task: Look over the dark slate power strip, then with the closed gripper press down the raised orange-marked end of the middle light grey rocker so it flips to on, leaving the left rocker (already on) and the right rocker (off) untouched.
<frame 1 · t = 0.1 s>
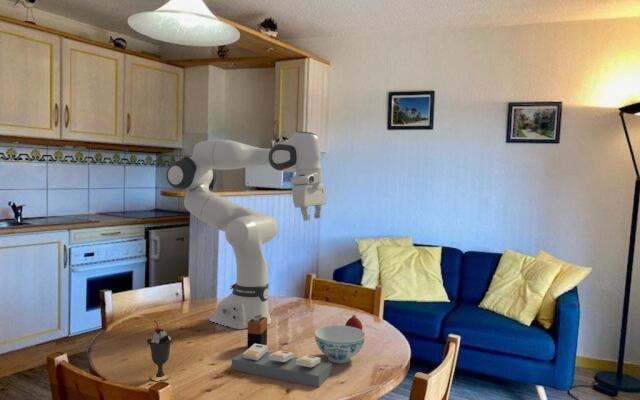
hand: (312, 219, 167), 39 cm above the table, tool pointing down, fingers open, 8 cm apart
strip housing: (281, 372, 134), on the table
rocker 2: (281, 356, 134), point 4 cm above the table, hinge at -8.0°
rocker 3: (308, 361, 131), point 4 cm above the table, hinge at -8.0°
rocker 1: (255, 352, 137), point 4 cm above the table, hinge at 8.0°
sundae: (160, 378, 129), on the table
chinaware: (339, 359, 145), on the table
red rounded piece: (353, 338, 163), on the table
battery: (257, 348, 152), on the table
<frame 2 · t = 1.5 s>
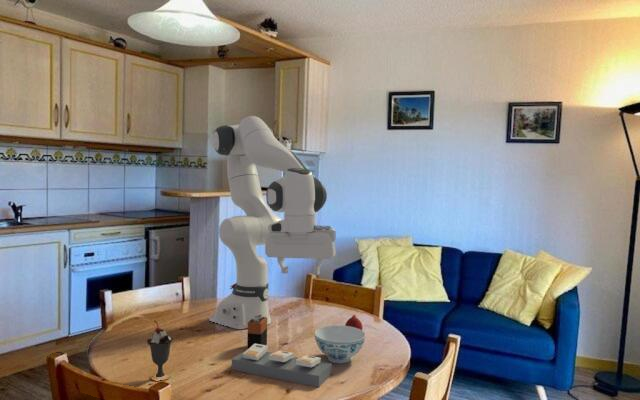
hand: (300, 273, 139), 26 cm above the table, tool pointing down, fingers open, 8 cm apart
nothing on the table moved.
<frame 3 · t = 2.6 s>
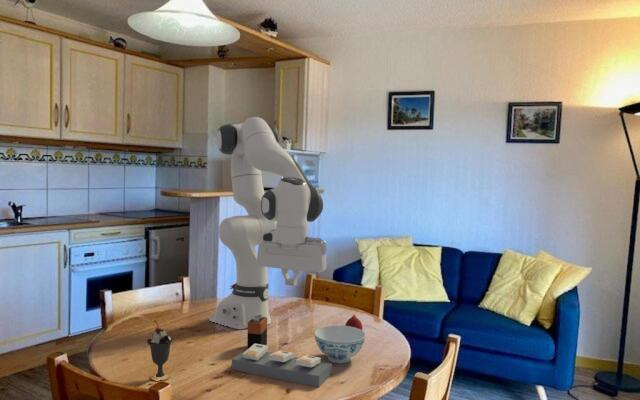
hand: (290, 284, 137), 23 cm above the table, tool pointing down, fingers closed
nothing on the table moved.
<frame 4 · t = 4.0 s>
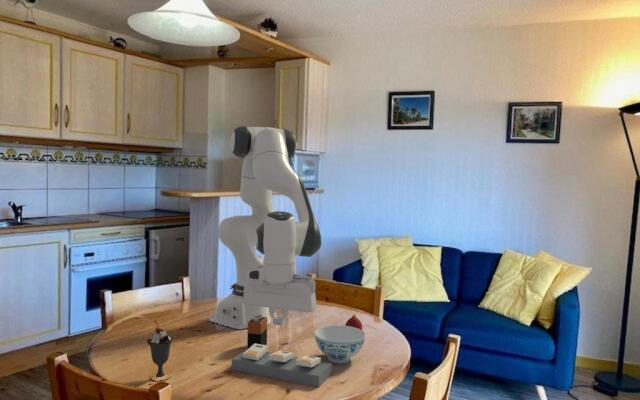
hand: (279, 324, 131), 14 cm above the table, tool pointing down, fingers closed
nothing on the table moved.
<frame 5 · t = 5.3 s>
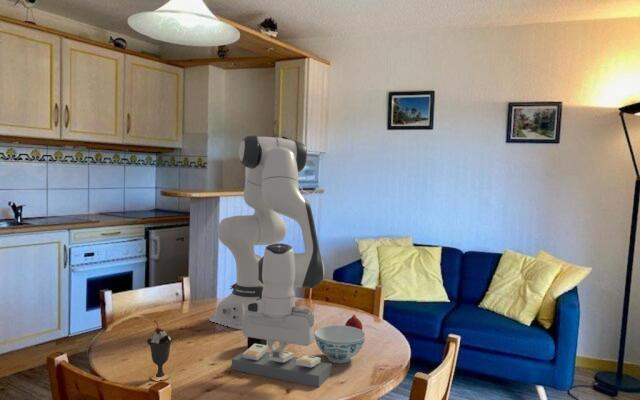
hand: (277, 356, 131), 5 cm above the table, tool pointing down, fingers closed, pressing on rocker 2
rocker 2: (281, 356, 134), point 4 cm above the table, hinge at -6.5°, touching gripper
everything else where it was.
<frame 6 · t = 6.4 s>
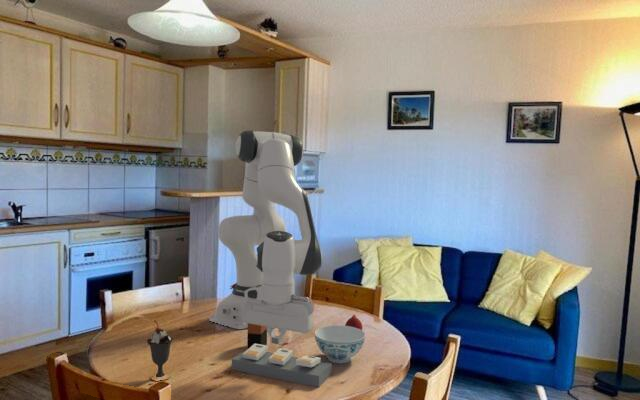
hand: (276, 343, 132), 9 cm above the table, tool pointing down, fingers closed
rocker 2: (281, 356, 134), point 4 cm above the table, hinge at 6.6°
everything else where it was.
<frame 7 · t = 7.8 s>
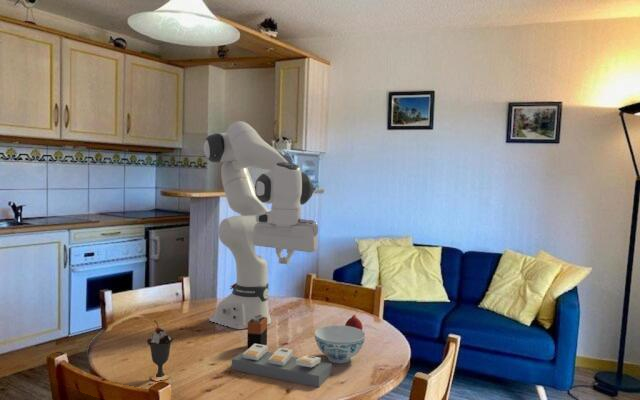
hand: (284, 263, 146), 27 cm above the table, tool pointing down, fingers closed
rocker 2: (281, 357, 134), point 4 cm above the table, hinge at 10.1°
everything else where it was.
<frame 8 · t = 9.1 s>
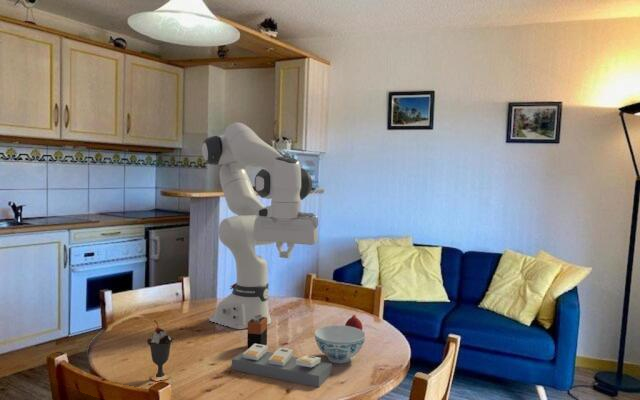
hand: (284, 257, 147), 29 cm above the table, tool pointing down, fingers closed
rocker 2: (281, 357, 134), point 4 cm above the table, hinge at 11.8°
everything else where it was.
at the end: rocker 2 at +12° (first picture: -8°); rocker 1 at +8° (first picture: +8°); rocker 3 at -8° (first picture: -8°) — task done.
